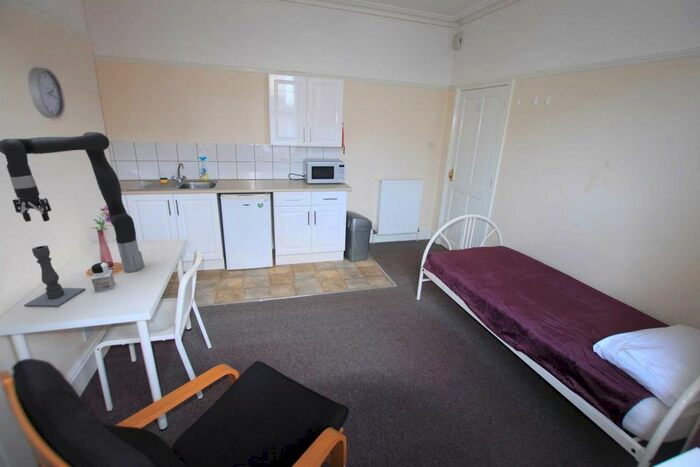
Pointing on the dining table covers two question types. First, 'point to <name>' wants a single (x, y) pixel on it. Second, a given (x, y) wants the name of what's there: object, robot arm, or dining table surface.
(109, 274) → the container
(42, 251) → the candle holder
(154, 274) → the dining table surface
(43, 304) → the mat
